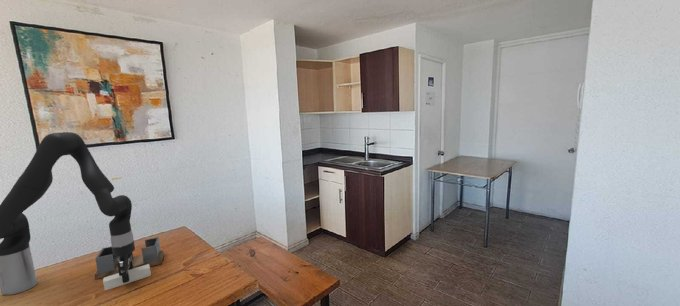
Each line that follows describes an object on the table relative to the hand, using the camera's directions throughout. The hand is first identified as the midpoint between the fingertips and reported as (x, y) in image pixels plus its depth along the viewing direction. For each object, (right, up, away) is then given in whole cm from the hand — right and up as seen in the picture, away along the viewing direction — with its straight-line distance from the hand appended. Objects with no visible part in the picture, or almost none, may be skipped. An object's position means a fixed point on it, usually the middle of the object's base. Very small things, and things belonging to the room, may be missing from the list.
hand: (128, 276), depth 120 cm
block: (0, -2, 0) cm, 2 cm away
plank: (-7, 0, +12) cm, 14 cm away
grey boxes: (-8, +2, +12) cm, 14 cm away
